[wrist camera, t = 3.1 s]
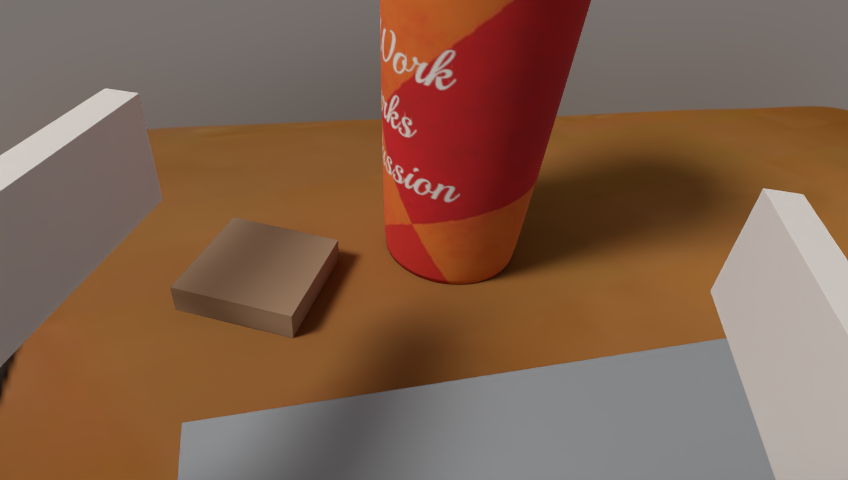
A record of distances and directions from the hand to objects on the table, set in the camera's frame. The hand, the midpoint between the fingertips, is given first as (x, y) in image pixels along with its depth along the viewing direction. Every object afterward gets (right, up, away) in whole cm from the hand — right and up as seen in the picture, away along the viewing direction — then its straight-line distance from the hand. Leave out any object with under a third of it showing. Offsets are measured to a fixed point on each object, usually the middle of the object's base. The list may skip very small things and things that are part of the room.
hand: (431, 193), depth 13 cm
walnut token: (-6, -3, +10) cm, 12 cm away
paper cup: (+1, -1, +13) cm, 13 cm away
